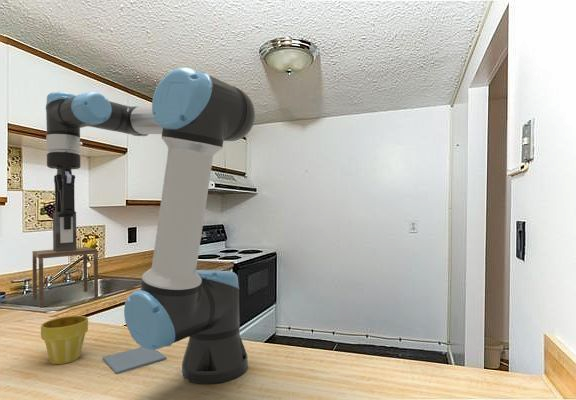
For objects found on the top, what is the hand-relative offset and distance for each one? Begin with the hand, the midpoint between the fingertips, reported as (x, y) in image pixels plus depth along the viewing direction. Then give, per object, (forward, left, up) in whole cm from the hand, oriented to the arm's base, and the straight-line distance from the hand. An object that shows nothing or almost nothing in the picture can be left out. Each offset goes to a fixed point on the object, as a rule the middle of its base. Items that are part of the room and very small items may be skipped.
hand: (64, 241), depth 94 cm
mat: (-13, -13, -30) cm, 35 cm away
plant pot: (0, 0, -30) cm, 30 cm away
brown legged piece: (0, 0, -15) cm, 15 cm away
